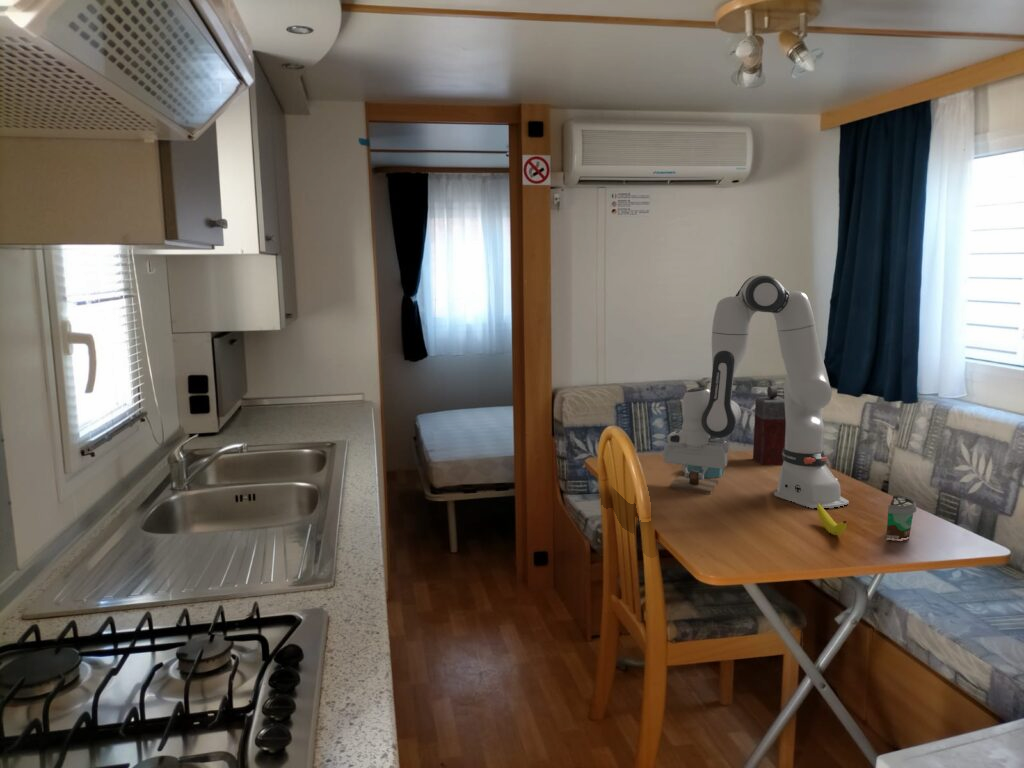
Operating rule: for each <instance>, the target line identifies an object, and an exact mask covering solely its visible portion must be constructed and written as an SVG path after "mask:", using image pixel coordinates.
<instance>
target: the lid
mask: <svg viewBox="0 0 1024 768" xmlns="http://www.w3.org/2000/svg"><path fill="white" fill-rule="evenodd" d="M698 474H699V471H696V470H691V471H690V478H685V476H681V475H679V476H677V477H676V478H675V480H674V481H673V482H671V484H670V485H669V490H670V489H674V490H673V491H678V490H681V491H680V492H687V491H691V492H690V493H695V492H699V493H698V494H703V493H708V494H707V495H711V494H712V493H711V492H714V490H715V489H714V488H716V487H717V486H718V484H719V480H718V479H717V480H716V479H710V478H704V479H703V480H699V479H698V478H699V477H698ZM716 485H717V486H716ZM715 486H716V487H715ZM713 489H714V490H713Z"/></svg>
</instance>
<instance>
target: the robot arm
mask: <svg viewBox="0 0 1024 768" xmlns="http://www.w3.org/2000/svg"><path fill="white" fill-rule="evenodd" d="M756 312H761V313H771V314H772V315H773V317H774V320H775V323H776V325H775V326H776V331H777V338H778V342H779V347H780V348H779V349H780V352H781V358H782V359H783V364H784V367H785V370H786V376H785V378H784V381H783V393H784V394H783V397H784V398H783V399H784V402H785V418H786V431H785V447H784V448H783V453H782V455H783V460H784V462H783V465H781V468H780V469H779V474H778V480H777V481H778V482H777V487H776V490H775V491H774V493H773V495H774V496H775V497H778V498H780V499H783V500H787V501H789V502H791V501H792V503H794V502H795V503H794V504H796V505H800V506H803V507H805V506H806V508H808V507H809V509H814V508H817V505H818V503H819V504H820V505H821V506H822V507H823V508H829V509H835V508H834V507H838V508H841V507H840V506H843V507H845V506H844V505H847V504H848V505H850V504H849V503H850V501H849V500H848V499H846V498H844V497H843V496H841V494H842V493H841V485H840V482H839V479H838V478H837V477H835V476H834V475H833V473H832V471H831V470H830V469H829V467H828V466H827V461H828V458H829V457H828V456H826V455H825V453H824V452H825V451H824V450H823V446H824V432H825V431H824V430H825V424H824V420H823V419H824V418H823V412H822V411H823V410H822V409H823V408H825V407H827V406H828V404H829V403H830V401H831V399H832V395H833V394H832V388H831V385H830V384H831V383H830V381H829V376H828V372H827V368H826V365H825V363H824V359H823V356H822V353H821V352H822V351H821V347H820V343H819V342H820V341H819V336H818V333H817V332H818V330H817V325H816V320H815V315H814V312H813V309H812V305H811V302H810V299H809V298H808V296H807V294H806V293H805V292H804V291H800V290H788V291H787V289H786V288H785V287H784V286H783V285H782V283H781V282H780V281H779V280H777V279H776V278H774V277H773V276H771V275H768V274H756V275H753V276H750V277H749V278H747V279H746V280H745V281H744V283H743V284H742V285H741V287H740V289H739V290H738V291H737V292H736V294H735V296H727V297H724V298H721V299H720V300H719V301H718V302H717V304H716V307H715V311H714V314H713V320H712V321H713V322H712V329H711V360H712V361H711V363H712V366H711V367H712V369H711V371H712V372H711V382H710V388H708V387H706V386H705V387H704V386H698V387H694V388H690V389H688V390H687V391H686V392H685V393H684V395H683V398H682V399H683V401H682V413H681V414H682V419H683V421H682V425H681V429H680V430H675V431H672V432H670V433H669V434H668V435H667V437H666V441H667V442H666V443H665V445H664V447H663V456H662V460H663V461H664V462H665V463H666V464H676V465H681V470H682V471H683V473H684V477H685V478H690V472H688V470H687V465H692V466H701V467H702V470H704V471H703V472H702V473H699V474H698V477H699V478H698V479H699V480H703V479H705V478H704V473H705V472H706V471H707V469H708V467H710V468H719V469H723V470H724V469H725V468H726V467H727V465H728V452H729V443H728V442H727V441H725V440H724V439H721V438H726V437H728V436H729V435H731V434H732V433H733V431H734V429H735V428H736V426H737V425H738V423H739V422H740V420H741V418H742V409H741V406H740V405H739V403H737V402H736V401H735V400H733V399H732V395H733V393H732V392H733V385H734V384H733V383H734V378H735V373H736V371H737V369H738V366H739V365H740V364H741V362H742V360H743V358H744V357H745V355H746V352H747V348H748V345H749V337H750V323H751V319H752V318H753V316H754V315H755V314H756ZM712 437H713V438H712ZM716 438H717V439H716ZM848 505H847V506H848Z"/></svg>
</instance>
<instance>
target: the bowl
mask: <svg viewBox="0 0 1024 768" xmlns="http://www.w3.org/2000/svg"><path fill="white" fill-rule="evenodd" d="M686 468H687V470H688V472H690V471H691V470H696V471H699V473H702V472H703V471H704V470H702V467H701V466H692V465H687V467H686ZM723 472H724V469H719V468H710V467H708V469H707V471H706V472H705V473H704V479H714V477H717V478H720V477H721V476H722V475H723Z"/></svg>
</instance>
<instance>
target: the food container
mask: <svg viewBox="0 0 1024 768" xmlns="http://www.w3.org/2000/svg"><path fill="white" fill-rule="evenodd" d="M916 512H917V504H916V501H915V500H914V499H913V498H912V497H908V496H906V495H902V494H899V493H892V500H891V502H890V504H888V509H887V521H886V522H887V524H886V536H885V538H891V539H892V538H894V539H901V538H907V537H909V538H910V534H911V529H912V522H913V517H914V513H916Z"/></svg>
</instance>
